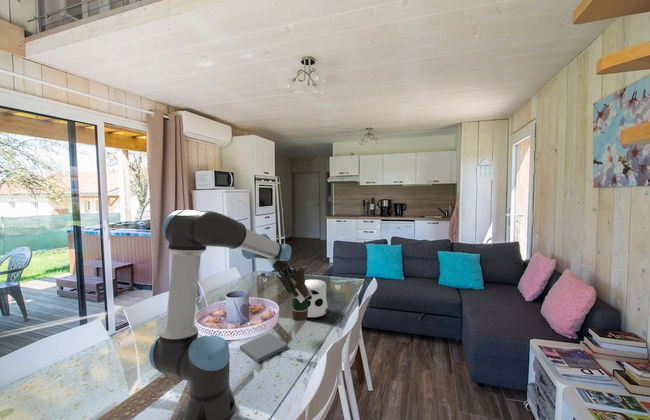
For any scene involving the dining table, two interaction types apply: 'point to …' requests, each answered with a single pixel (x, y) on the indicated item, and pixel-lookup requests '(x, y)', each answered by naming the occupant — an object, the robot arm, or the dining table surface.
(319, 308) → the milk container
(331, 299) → the dining table surface
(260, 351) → the slate board
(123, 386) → the dining table surface
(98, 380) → the dining table surface
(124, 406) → the dining table surface
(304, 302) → the beer bottle
